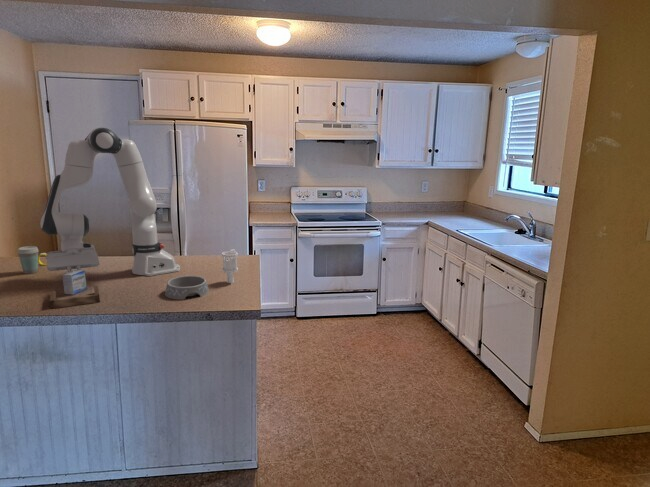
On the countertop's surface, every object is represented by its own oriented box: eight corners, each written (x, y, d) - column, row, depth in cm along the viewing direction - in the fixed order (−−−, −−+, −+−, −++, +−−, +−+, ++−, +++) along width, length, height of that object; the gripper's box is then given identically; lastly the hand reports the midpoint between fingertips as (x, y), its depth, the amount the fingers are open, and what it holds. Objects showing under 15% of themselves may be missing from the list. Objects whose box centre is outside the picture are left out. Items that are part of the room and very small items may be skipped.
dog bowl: (214, 295, 190) (214, 283, 189) (170, 302, 181) (169, 290, 180) (202, 284, 204) (201, 272, 203) (160, 290, 195) (160, 278, 194)
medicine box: (73, 295, 185) (71, 275, 183) (64, 294, 186) (62, 274, 184) (87, 289, 193) (85, 270, 191) (78, 288, 194) (76, 269, 192)
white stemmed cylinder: (241, 281, 209) (240, 250, 205) (232, 285, 203) (231, 253, 199) (228, 278, 212) (228, 248, 208) (219, 282, 205) (218, 251, 202)
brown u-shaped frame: (98, 292, 189) (98, 285, 189) (99, 302, 179) (99, 295, 178) (52, 298, 181) (51, 291, 181) (50, 308, 171) (49, 301, 170)
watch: (37, 265, 225) (35, 254, 224) (41, 264, 228) (38, 253, 227) (48, 265, 225) (46, 254, 224) (52, 263, 228) (50, 252, 226)
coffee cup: (45, 270, 217) (42, 246, 214) (29, 275, 209) (25, 250, 206) (32, 268, 219) (29, 245, 216) (15, 273, 211) (12, 249, 209)
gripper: (44, 248, 194) (45, 275, 188) (97, 244, 204) (100, 270, 198) (46, 255, 199) (47, 282, 193) (97, 251, 209) (100, 277, 203)
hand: (74, 276), depth 196 cm, fingers closed
